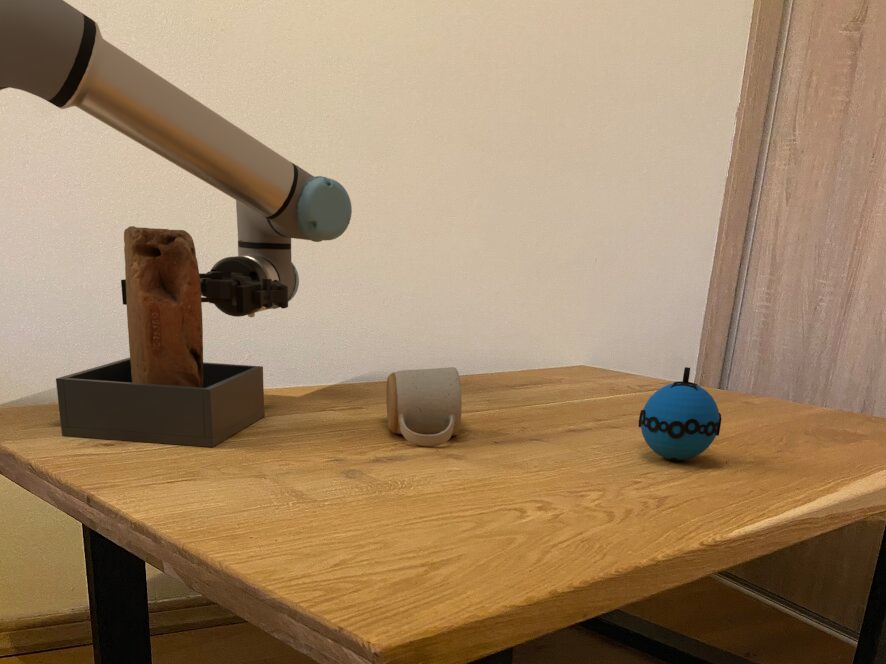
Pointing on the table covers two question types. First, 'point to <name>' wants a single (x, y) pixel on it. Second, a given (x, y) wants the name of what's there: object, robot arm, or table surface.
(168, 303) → the block
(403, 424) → the ceramic mug
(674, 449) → the ornament
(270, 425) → the table surface
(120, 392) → the bin
